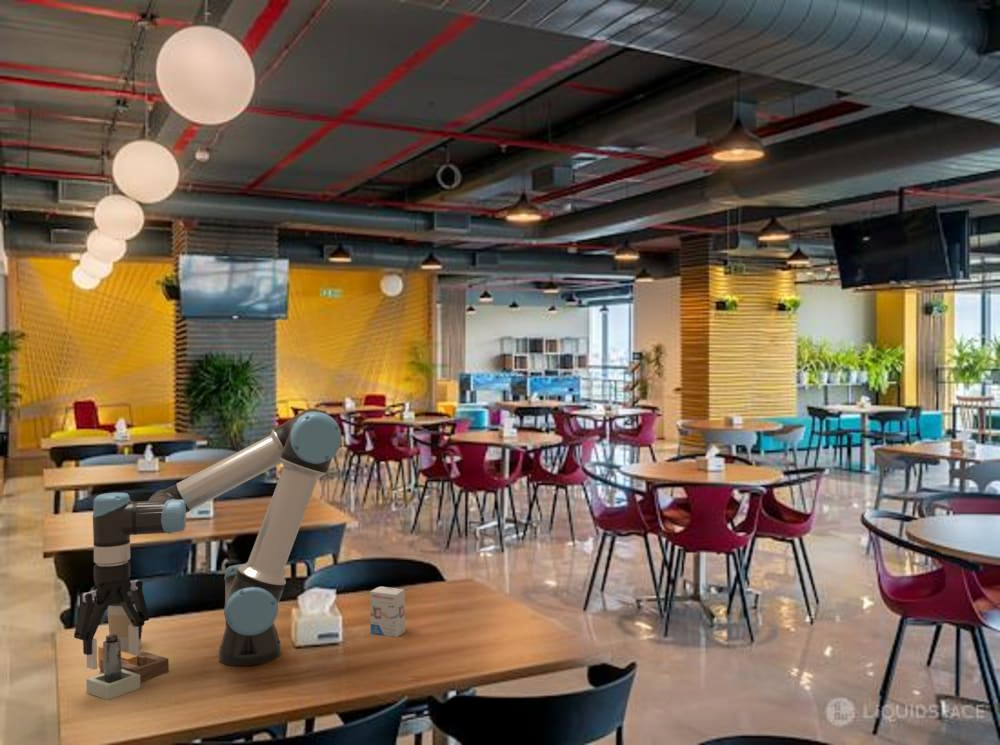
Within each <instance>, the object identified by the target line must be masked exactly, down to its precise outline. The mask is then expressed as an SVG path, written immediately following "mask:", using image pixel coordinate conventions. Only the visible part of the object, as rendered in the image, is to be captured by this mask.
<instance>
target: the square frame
mask: <svg viewBox="0 0 1000 745" xmlns="http://www.w3.org/2000/svg"><path fill="white" fill-rule="evenodd" d="M85 681H86V682H85V683H86V693H88V694H90V695H93V696H95V697H98V698H101V699H103V700H106V701H107V700H112V699H115V698H116V697H119V696H123V695H125V694H127V693H130V692H133V691H135V690H138V689H141V681H140V674H136V673H133V672H130V671H127V670H124V669H122V679H121V680H118V681H115V682H112V683H107V682H105V681H104V673H101V674H98V675H95V676H92V677H89V678H86V680H85Z"/></svg>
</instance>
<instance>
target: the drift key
mask: <svg viewBox="0 0 1000 745" xmlns="http://www.w3.org/2000/svg"><path fill="white" fill-rule="evenodd" d="M101 659H104V654H103V645H100V646H97V666H100V660H101ZM121 659H122V660H125V661H129V662H130V664H134V665H137V656H135V655H132V654H129V653H125V652H122V651H121Z"/></svg>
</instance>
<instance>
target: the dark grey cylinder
mask: <svg viewBox="0 0 1000 745" xmlns="http://www.w3.org/2000/svg"><path fill="white" fill-rule="evenodd" d="M102 646H103V654H104V681H105V682H107V683H112V682H115V681H118V680H121V679H122V665H121V640H120V639H118V636H117V635H116V634H113V635H109V634H108V635H105V641H103V642H102Z"/></svg>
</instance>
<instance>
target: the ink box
mask: <svg viewBox="0 0 1000 745" xmlns="http://www.w3.org/2000/svg"><path fill="white" fill-rule="evenodd" d="M369 596H370V601H369V603H370V604H369V606H370V608H369V609H370V634H373V635H380V636H387V637H393V638H398V637H399V636H401V635H402V634H404V633H406V604H405V603H406V598H405V597H406V595H405V590H404V589H401V588H395V587H390V586H389V587H387V586H378V587H375V588H374V589H372V590H370V591H369Z"/></svg>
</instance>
